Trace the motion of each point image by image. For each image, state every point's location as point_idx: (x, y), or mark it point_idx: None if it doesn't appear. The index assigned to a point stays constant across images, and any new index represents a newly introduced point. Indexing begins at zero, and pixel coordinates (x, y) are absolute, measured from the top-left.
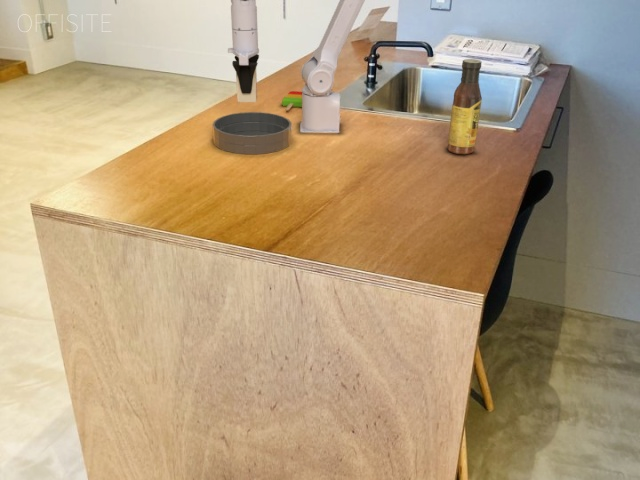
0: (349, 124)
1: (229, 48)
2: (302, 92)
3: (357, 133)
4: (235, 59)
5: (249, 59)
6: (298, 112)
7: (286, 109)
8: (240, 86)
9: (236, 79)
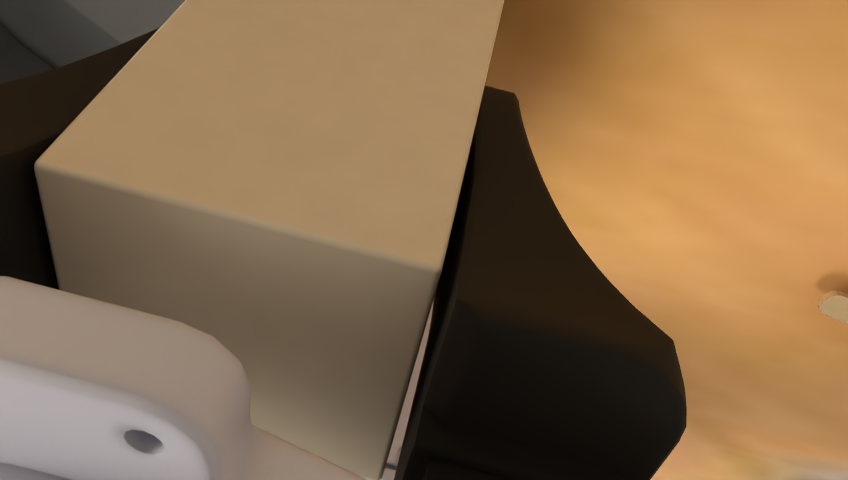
0: None
1: (104, 424)
2: (394, 464)
3: None
4: (457, 290)
5: (401, 470)
6: (799, 339)
7: (827, 297)
8: (141, 37)
9: (151, 39)
